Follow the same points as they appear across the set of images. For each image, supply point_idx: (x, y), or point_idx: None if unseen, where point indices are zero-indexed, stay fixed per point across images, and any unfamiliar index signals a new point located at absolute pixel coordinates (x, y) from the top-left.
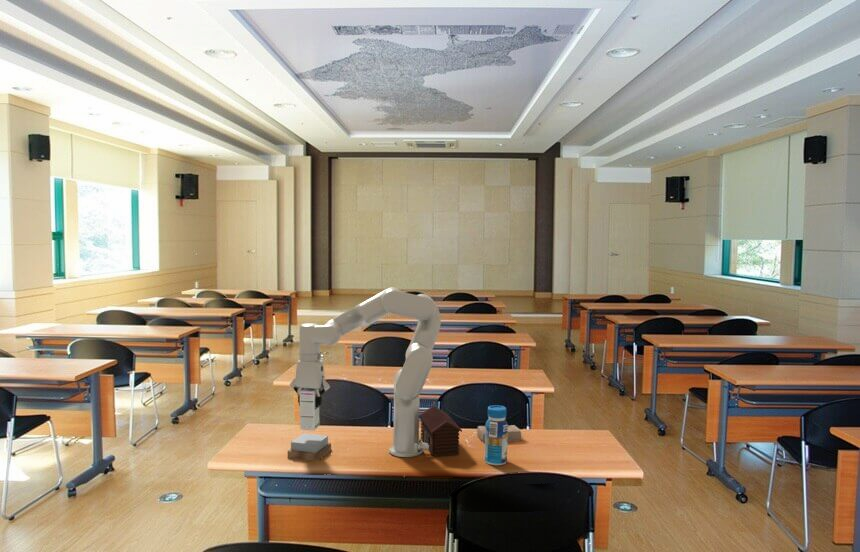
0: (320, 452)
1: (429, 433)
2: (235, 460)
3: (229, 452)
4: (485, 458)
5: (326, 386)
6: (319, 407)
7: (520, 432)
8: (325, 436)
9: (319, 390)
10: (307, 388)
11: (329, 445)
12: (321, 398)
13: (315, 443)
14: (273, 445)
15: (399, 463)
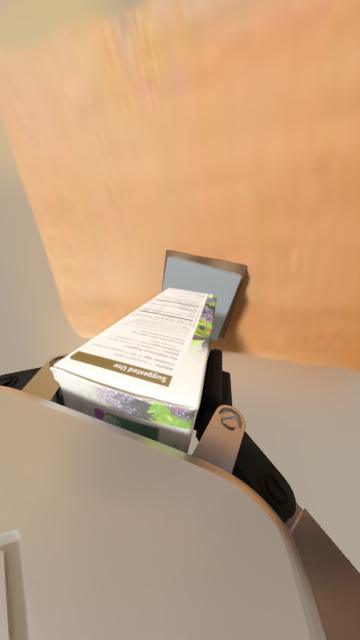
0: (226, 328)
1: None
2: (91, 327)
3: (64, 295)
4: None
5: (325, 624)
6: (213, 321)
7: None
8: (234, 280)
9: (212, 449)
10: (86, 408)
11: (243, 277)
12: (230, 394)
13: (213, 331)
14: (113, 251)
15: None
